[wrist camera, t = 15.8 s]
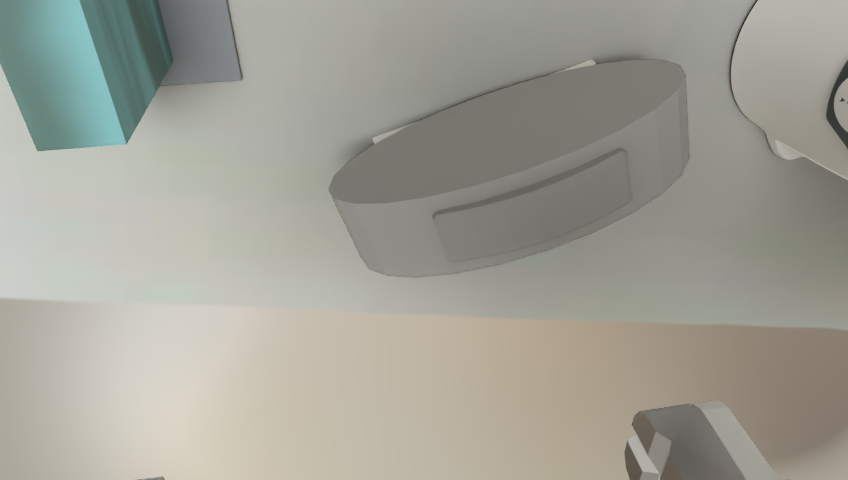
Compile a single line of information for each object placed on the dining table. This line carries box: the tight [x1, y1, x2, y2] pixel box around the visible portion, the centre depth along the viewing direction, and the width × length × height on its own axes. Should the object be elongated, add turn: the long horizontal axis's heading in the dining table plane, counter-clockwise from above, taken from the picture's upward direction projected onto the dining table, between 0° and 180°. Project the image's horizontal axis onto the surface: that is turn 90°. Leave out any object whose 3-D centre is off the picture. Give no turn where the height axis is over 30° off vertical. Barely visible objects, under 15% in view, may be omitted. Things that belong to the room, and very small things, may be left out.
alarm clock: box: [328, 59, 690, 278], centre depth 40 cm, size 23×6×13 cm, turn 107°
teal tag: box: [0, 0, 173, 151], centre depth 31 cm, size 4×8×12 cm, turn 1°
